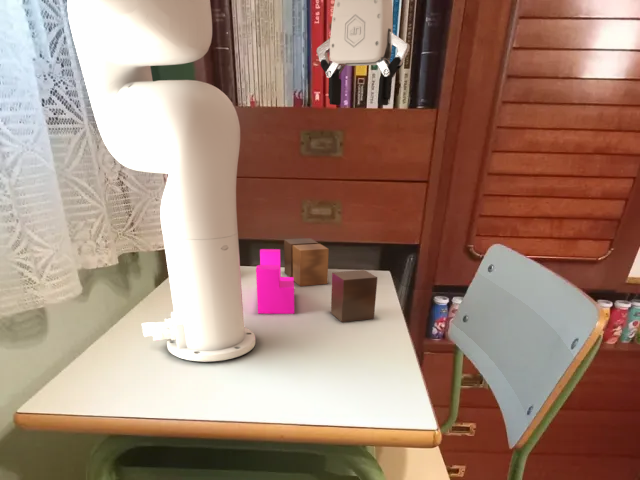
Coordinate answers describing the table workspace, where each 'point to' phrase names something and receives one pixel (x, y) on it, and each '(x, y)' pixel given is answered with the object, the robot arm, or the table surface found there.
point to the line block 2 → (353, 295)
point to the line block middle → (310, 264)
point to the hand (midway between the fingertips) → (358, 104)
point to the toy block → (273, 285)
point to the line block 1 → (289, 252)
